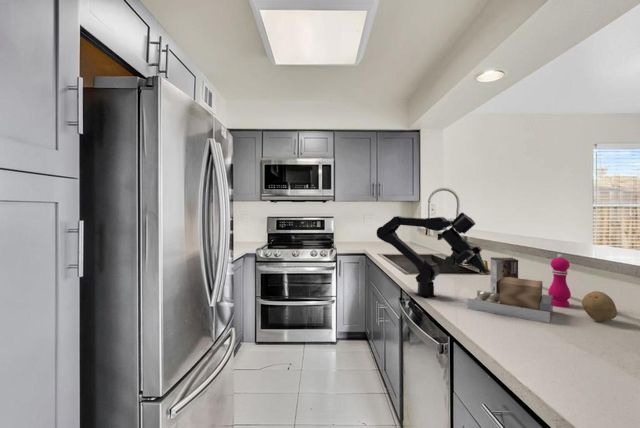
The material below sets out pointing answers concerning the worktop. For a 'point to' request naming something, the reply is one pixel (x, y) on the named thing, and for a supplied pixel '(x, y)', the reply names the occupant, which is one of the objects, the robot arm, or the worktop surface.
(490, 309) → the track
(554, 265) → the pepper mill
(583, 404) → the worktop surface
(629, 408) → the worktop surface
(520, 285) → the slab
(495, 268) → the coffee box
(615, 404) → the worktop surface
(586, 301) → the potato
